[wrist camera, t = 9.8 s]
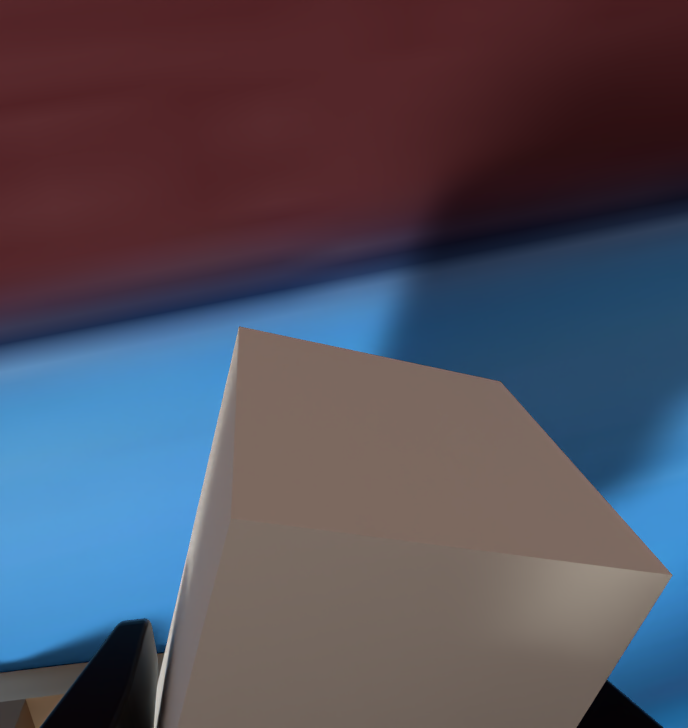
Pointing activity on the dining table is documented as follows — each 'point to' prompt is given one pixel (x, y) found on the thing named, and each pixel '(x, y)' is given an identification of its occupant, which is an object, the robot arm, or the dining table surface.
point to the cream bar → (393, 556)
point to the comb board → (37, 693)
